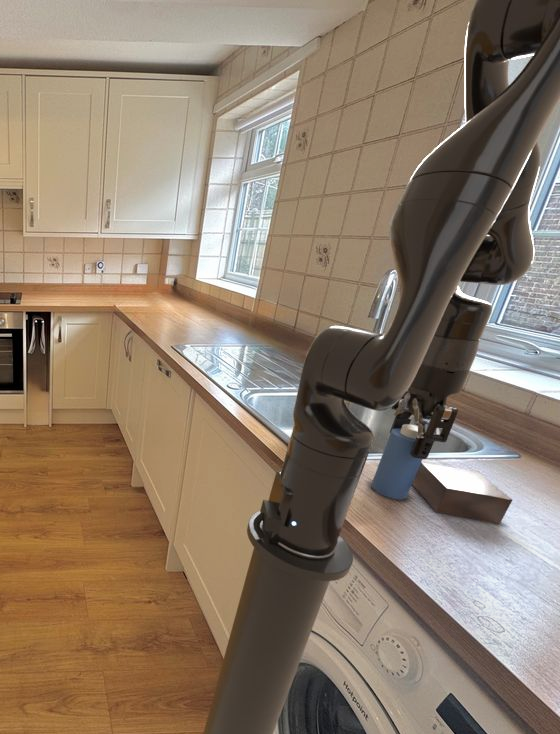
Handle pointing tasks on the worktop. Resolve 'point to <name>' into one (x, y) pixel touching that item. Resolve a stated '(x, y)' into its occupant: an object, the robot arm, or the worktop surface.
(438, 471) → the walnut block
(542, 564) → the worktop surface
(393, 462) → the blue bottle
